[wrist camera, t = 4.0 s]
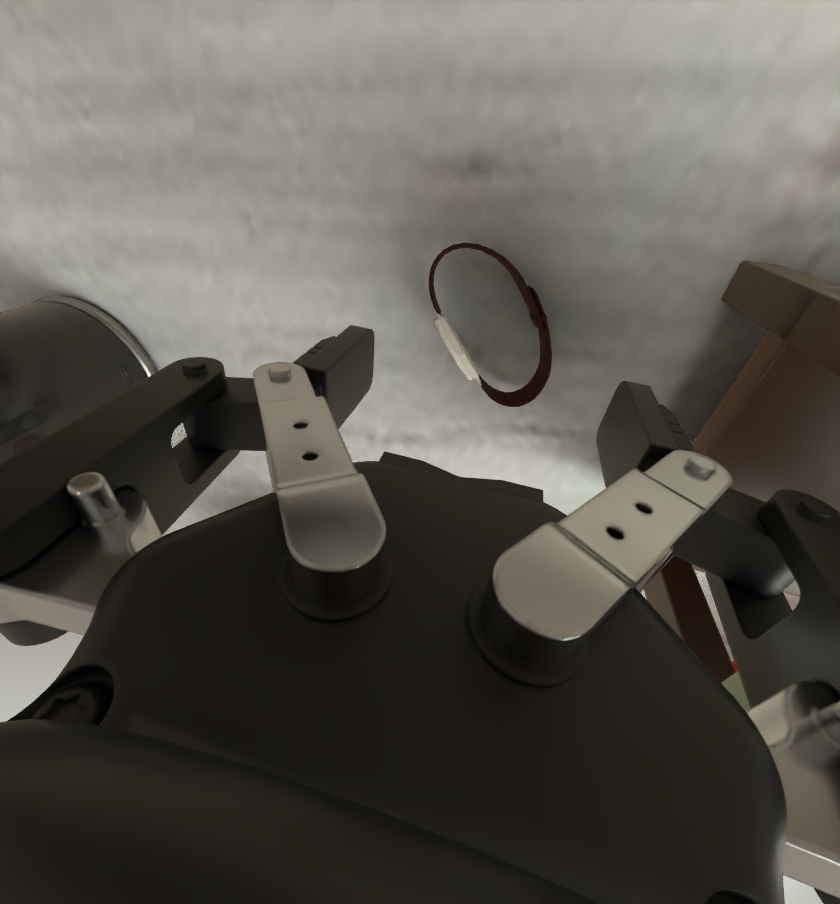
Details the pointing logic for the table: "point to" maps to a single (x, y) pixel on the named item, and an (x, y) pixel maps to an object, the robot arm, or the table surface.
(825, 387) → the small side table
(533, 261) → the table surface
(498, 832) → the robot arm
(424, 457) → the table surface
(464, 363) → the watch
